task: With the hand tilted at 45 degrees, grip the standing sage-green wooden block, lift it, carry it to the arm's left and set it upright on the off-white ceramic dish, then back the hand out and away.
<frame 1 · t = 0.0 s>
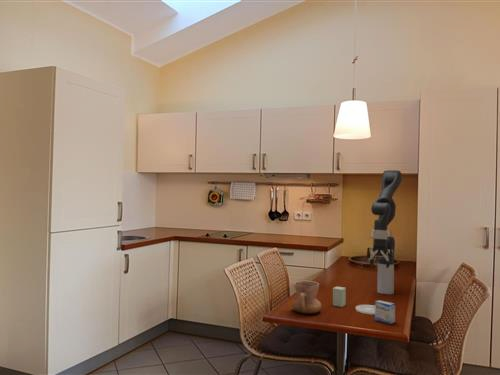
hand: (379, 267, 233), 17 cm above the table, tool pointing down, fingers open, 8 cm apart
medicine box: (384, 321, 191), on the table
ceramic jug: (306, 312, 204), on the table
sage block: (339, 305, 217), on the table
dish: (369, 310, 207), on the table
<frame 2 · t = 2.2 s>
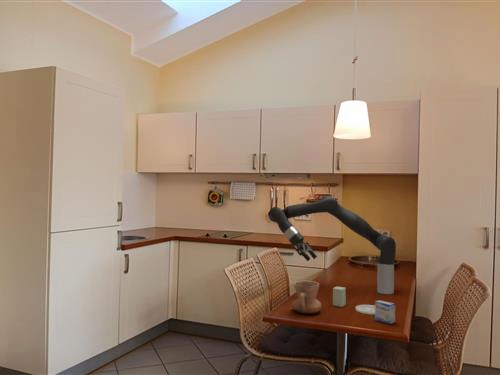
hand: (312, 259, 225), 23 cm above the table, tool tilted 45°, fingers open, 8 cm apart
nothing on the table moved.
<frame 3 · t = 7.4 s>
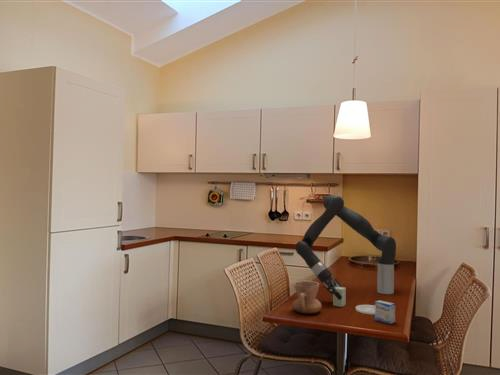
hand: (342, 297, 216), 4 cm above the table, tool tilted 45°, fingers closed on sage block, 5 cm apart
sage block: (339, 305, 217), on the table, touching gripper
everything else where it was.
when the fingers open (7 cm above the table, at t = 13.8 s): sage block drops 1 cm, resting on dish.
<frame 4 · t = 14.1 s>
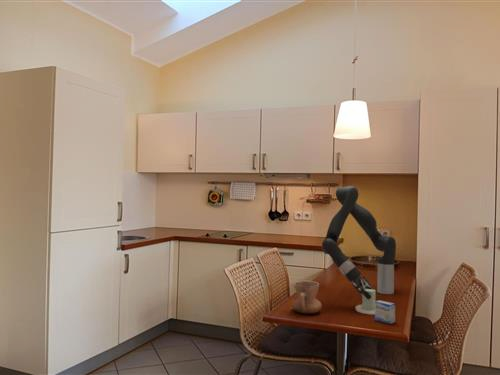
hand: (372, 296, 206), 7 cm above the table, tool tilted 45°, fingers open, 7 cm apart
sage block: (368, 308, 207), point 1 cm above the table, touching dish
everything else where it was.
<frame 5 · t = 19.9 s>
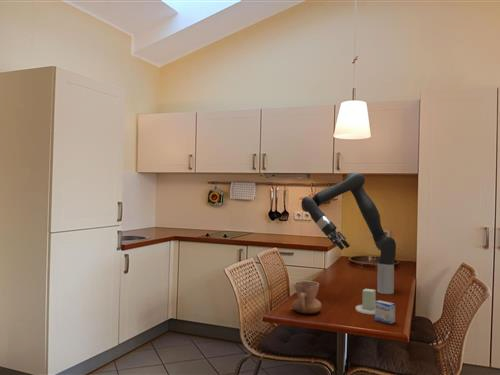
hand: (345, 247, 226), 29 cm above the table, tool tilted 45°, fingers open, 8 cm apart
nothing on the table moved.
at the end: sage block inside the target area on the dish (0.0 cm from its centre), point 1.2 cm above the dish's base; sage block tilted 0°; the gripper is holding nothing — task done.
